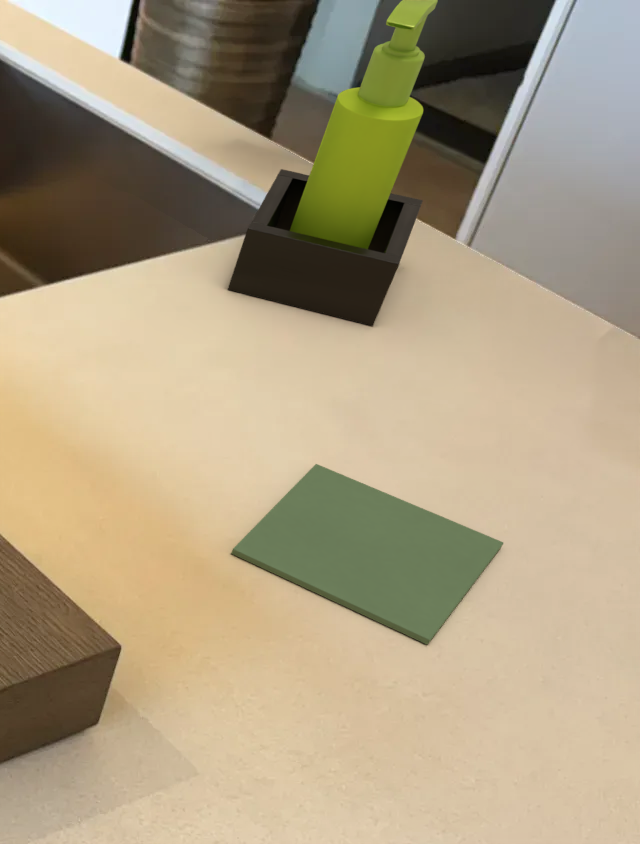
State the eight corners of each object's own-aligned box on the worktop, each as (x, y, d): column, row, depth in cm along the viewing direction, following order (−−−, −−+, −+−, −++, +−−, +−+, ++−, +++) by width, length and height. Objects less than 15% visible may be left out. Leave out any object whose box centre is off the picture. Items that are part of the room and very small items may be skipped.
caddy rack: (372, 326, 102) (399, 263, 98) (227, 289, 105) (247, 228, 101) (397, 260, 109) (423, 200, 105) (260, 228, 112) (280, 168, 109)
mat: (501, 547, 83) (504, 542, 83) (427, 645, 77) (430, 639, 77) (313, 468, 89) (316, 463, 88) (230, 553, 82) (232, 548, 82)
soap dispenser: (262, 280, 106) (358, 6, 92) (291, 247, 110) (388, -22, 96) (337, 304, 104) (449, 25, 89) (364, 268, 108) (475, -3, 93)
